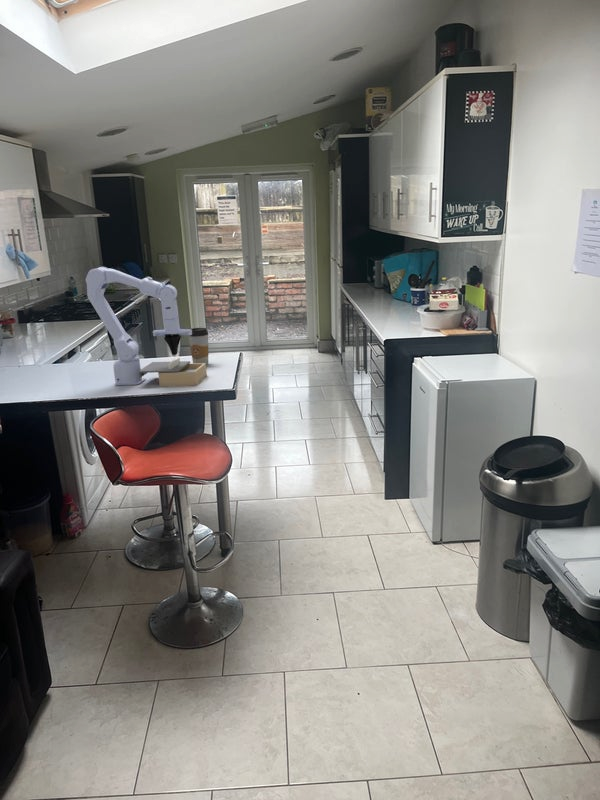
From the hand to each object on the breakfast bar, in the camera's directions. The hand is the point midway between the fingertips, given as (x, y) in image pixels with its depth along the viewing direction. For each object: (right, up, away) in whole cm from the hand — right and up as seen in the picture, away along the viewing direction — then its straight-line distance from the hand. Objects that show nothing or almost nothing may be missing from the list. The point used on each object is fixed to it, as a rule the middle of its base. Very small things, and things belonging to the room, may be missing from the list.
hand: (174, 354), depth 228 cm
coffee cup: (+6, -3, +26) cm, 27 cm away
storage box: (+3, -10, +1) cm, 11 cm away
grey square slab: (-4, -7, +1) cm, 8 cm away
